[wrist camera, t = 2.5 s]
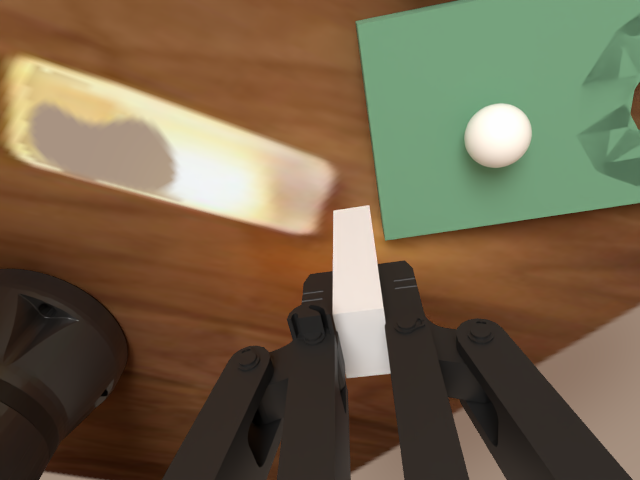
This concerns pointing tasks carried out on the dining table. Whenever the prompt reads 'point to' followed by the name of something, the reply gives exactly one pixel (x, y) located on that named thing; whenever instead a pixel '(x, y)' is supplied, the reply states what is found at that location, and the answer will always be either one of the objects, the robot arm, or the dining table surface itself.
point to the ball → (498, 135)
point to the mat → (509, 88)
